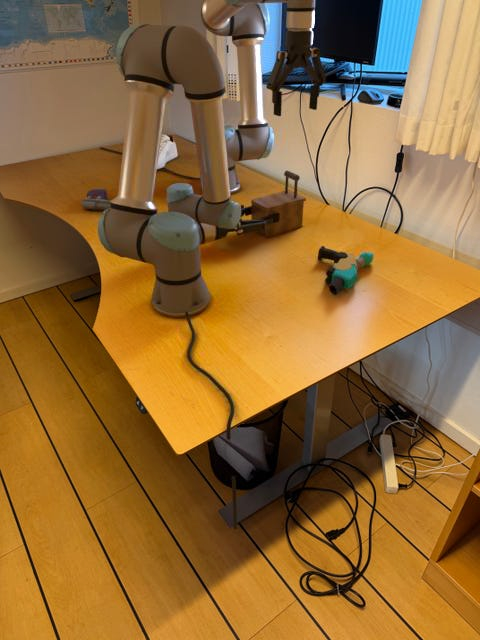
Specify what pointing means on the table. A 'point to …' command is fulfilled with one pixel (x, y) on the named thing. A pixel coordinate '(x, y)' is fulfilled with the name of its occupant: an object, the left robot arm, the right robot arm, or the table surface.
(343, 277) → the toy gun
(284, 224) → the chest
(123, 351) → the table surface
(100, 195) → the toy gun
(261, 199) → the lid
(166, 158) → the sneaker
